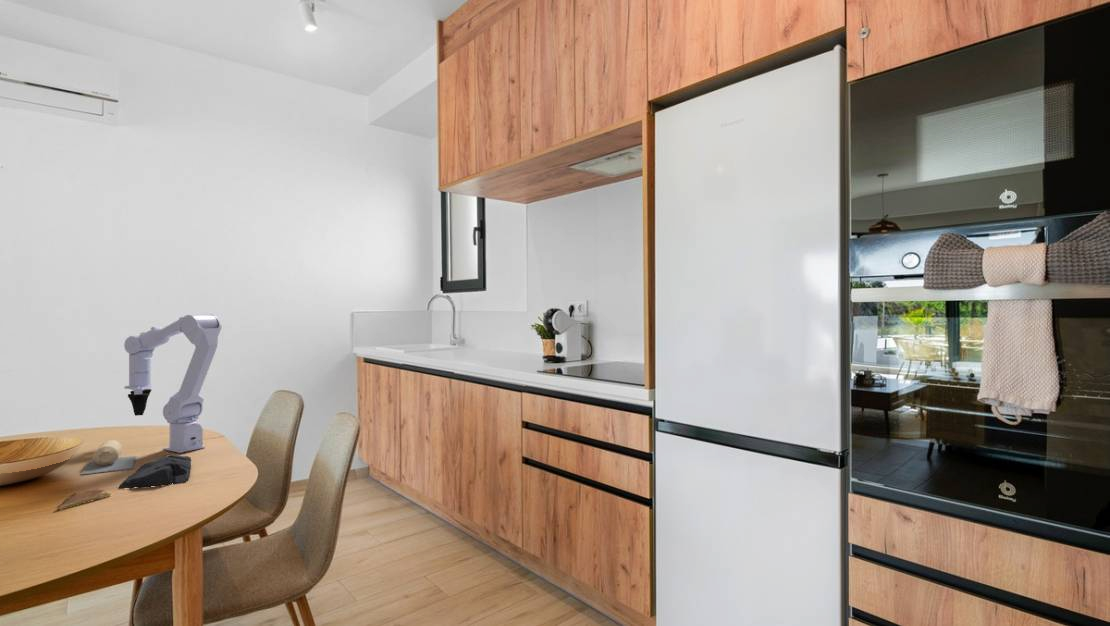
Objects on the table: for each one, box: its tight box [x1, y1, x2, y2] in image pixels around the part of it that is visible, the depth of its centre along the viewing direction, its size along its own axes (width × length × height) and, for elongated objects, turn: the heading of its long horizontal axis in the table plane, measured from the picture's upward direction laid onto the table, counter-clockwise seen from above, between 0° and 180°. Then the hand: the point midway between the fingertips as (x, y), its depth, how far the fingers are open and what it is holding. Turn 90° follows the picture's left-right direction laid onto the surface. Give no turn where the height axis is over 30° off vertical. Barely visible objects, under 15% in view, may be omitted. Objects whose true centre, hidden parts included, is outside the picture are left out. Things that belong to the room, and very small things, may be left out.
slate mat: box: [80, 455, 137, 476], centre depth 158 cm, size 14×11×1 cm
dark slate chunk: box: [118, 454, 192, 488], centre depth 150 cm, size 15×22×5 cm
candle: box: [93, 439, 123, 466], centre depth 161 cm, size 6×6×10 cm
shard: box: [56, 487, 112, 511], centre depth 130 cm, size 11×8×2 cm
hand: (139, 413), depth 182 cm, fingers open, 7 cm apart
